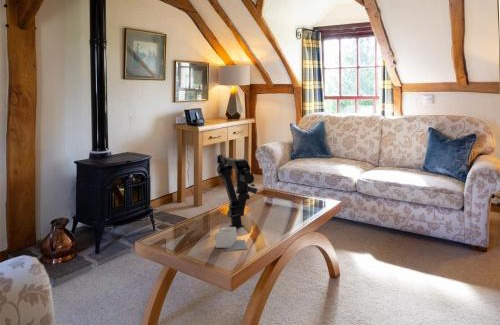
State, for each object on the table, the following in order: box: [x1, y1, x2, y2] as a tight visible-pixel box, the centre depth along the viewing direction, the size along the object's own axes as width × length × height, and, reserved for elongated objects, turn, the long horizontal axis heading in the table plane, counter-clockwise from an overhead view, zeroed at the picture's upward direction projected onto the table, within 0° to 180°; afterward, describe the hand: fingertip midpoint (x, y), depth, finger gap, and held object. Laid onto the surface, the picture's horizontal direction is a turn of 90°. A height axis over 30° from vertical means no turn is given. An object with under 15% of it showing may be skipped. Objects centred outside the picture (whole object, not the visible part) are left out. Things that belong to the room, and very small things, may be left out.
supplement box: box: [214, 226, 238, 249], centre depth 206 cm, size 7×7×13 cm
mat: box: [224, 239, 248, 252], centre depth 204 cm, size 14×11×1 cm
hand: (243, 208), depth 225 cm, fingers closed
